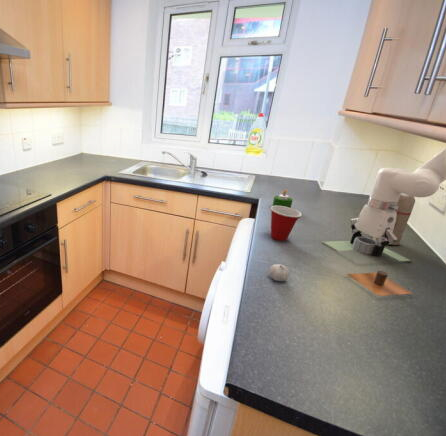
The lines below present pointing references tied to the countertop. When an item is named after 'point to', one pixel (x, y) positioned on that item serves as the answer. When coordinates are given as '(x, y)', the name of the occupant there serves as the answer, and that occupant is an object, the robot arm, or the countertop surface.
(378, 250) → the robot arm
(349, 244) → the mat
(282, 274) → the garlic
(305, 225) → the countertop surface
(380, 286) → the stand
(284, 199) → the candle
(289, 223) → the plastic cup
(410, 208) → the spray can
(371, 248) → the tape roll
